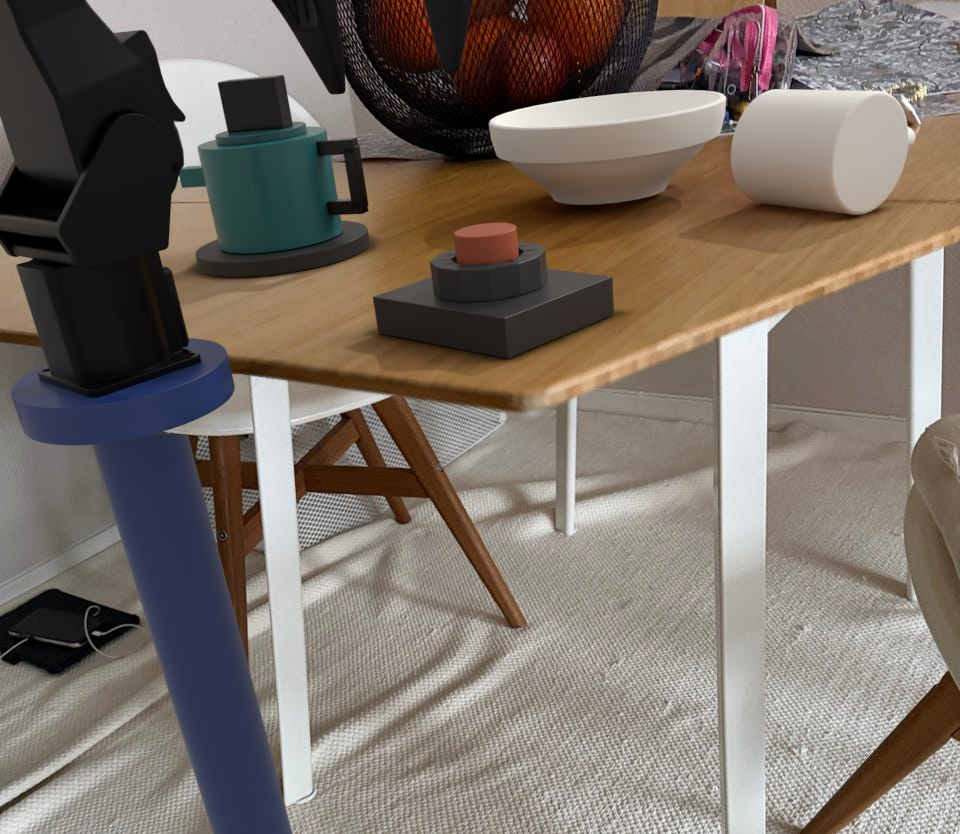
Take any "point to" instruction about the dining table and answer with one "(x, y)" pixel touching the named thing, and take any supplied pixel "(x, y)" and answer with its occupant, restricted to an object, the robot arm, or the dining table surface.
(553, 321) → the switch block
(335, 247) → the kettle base
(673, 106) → the bowl
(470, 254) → the switch
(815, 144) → the mug
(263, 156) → the kettle
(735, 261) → the dining table surface
